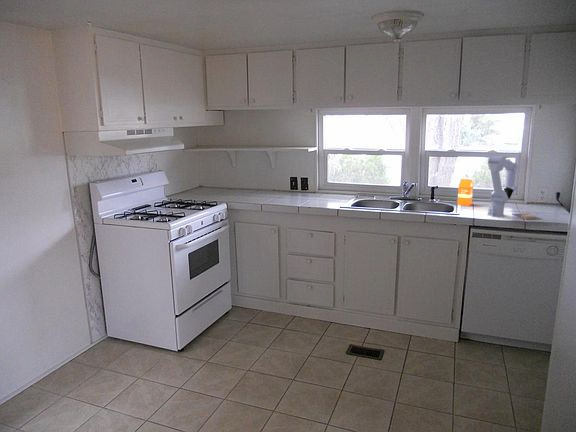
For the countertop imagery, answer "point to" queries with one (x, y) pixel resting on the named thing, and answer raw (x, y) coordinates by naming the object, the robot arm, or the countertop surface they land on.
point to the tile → (527, 216)
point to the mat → (523, 218)
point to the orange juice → (465, 192)
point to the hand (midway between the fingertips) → (508, 198)
